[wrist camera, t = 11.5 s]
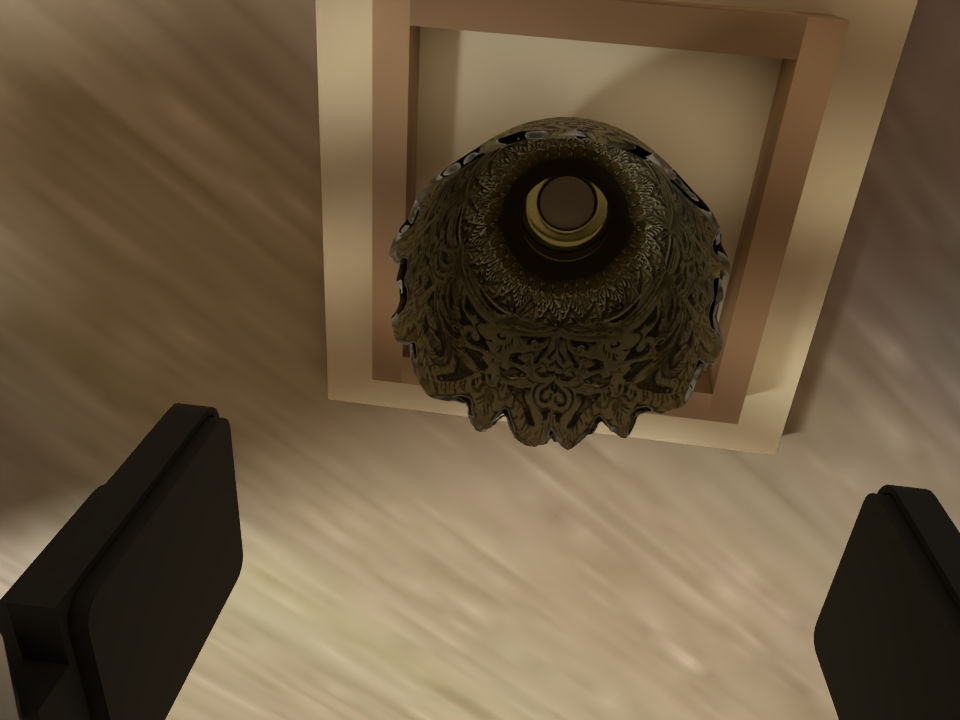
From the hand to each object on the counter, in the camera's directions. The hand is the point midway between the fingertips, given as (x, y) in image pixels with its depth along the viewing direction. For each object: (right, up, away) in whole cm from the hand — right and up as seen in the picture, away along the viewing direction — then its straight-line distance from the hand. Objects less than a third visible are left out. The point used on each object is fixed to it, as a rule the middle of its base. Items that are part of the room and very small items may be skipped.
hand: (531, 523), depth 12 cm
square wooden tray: (+2, +7, +13) cm, 15 cm away
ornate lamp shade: (+2, +7, +12) cm, 15 cm away
